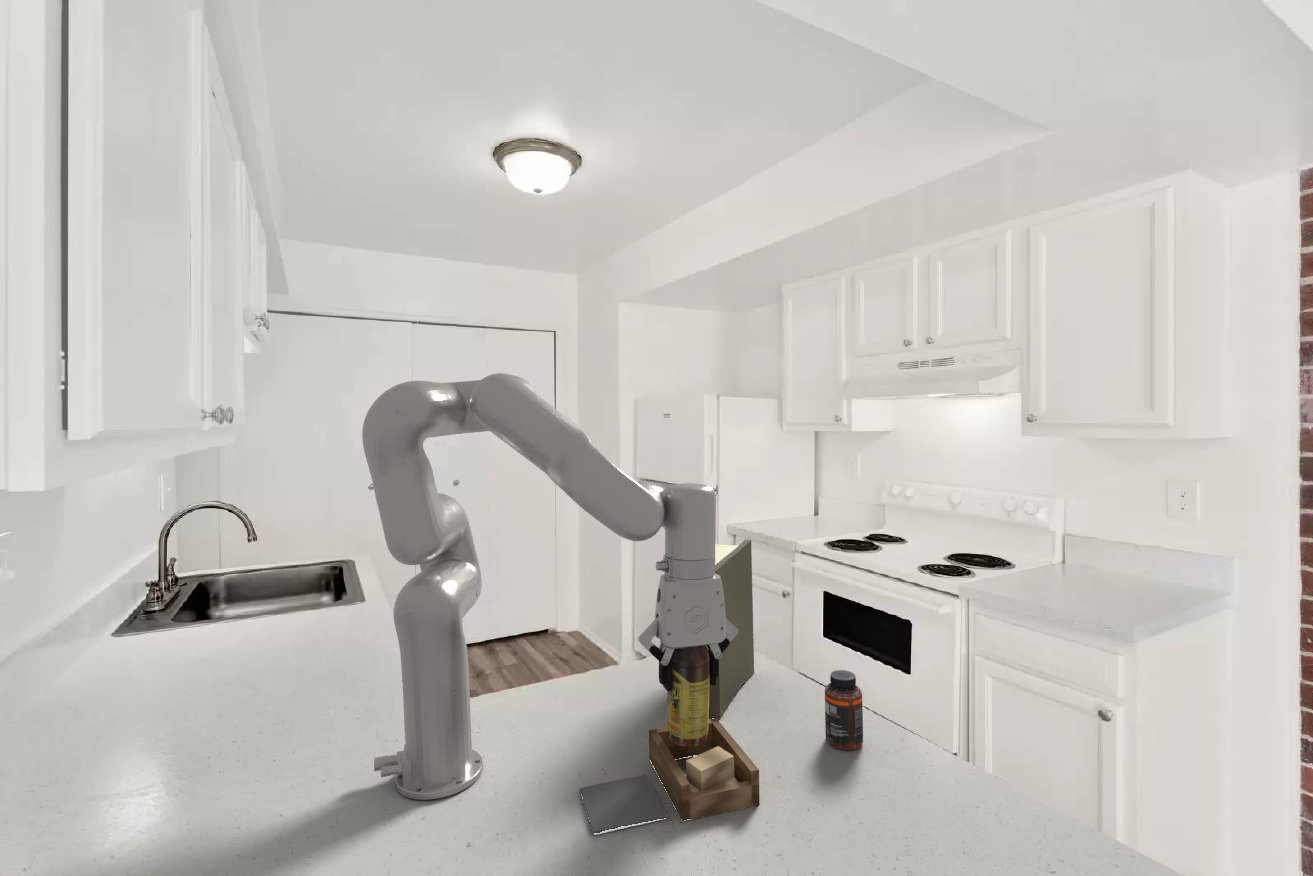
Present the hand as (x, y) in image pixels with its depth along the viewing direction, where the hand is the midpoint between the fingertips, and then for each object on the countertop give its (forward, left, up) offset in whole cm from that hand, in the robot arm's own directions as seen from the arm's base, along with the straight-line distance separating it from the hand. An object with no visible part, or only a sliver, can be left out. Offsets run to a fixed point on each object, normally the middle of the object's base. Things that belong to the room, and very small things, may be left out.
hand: (688, 683), depth 96 cm
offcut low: (0, -7, -14) cm, 16 cm away
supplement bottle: (+27, 0, -14) cm, 30 cm away
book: (+14, +24, -14) cm, 31 cm away
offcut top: (+1, -7, -11) cm, 13 cm away
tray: (+1, -3, -14) cm, 14 cm away
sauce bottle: (0, 0, -9) cm, 9 cm away
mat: (-12, -4, -14) cm, 19 cm away
